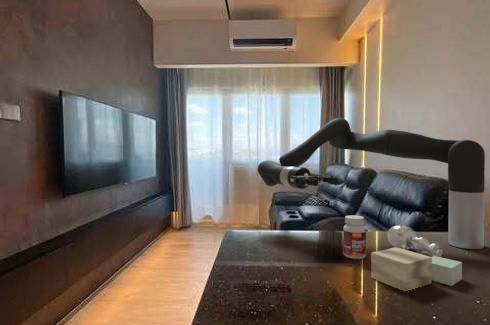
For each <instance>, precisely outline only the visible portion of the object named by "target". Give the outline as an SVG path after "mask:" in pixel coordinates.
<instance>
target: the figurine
mask: <svg viewBox="0 0 490 325" xmlns="http://www.w3.org/2000/svg"><path fill="white" fill-rule="evenodd" d="M387 240H388V242H389V243H390V245H391V246H393V248H395V247H398V248H401V249H405V250H408V251H409V250H410V249H411V250H413V249H414V250H415V252H416V253H419V254H422V255H426V256H429V257H433V256H437V257H441V258H442V256H443V250H442V249H439V248H440V245H439V244H438V243H435V242H433V243H432V244H431V243H430V242H429V240H428V239H427V238H426V237H422V236H421V237H420V236H419V237H418V236H417V232H416V231H414V230H413V228H411V227H409V226H406V225H404V224H403V225H402V224H396V225H394V226H391V227H390V228H389V229H388V231H387Z"/></svg>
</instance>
